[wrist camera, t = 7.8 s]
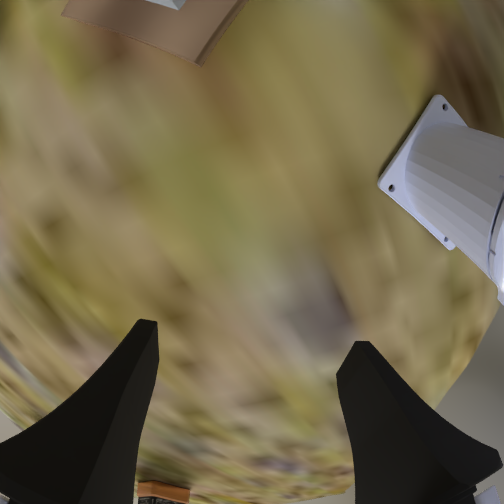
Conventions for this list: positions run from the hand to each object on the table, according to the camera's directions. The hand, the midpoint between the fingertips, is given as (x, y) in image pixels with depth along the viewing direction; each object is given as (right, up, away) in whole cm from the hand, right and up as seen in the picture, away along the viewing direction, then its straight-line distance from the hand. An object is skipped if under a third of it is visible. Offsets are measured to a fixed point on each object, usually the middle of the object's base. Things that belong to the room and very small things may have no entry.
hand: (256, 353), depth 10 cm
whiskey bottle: (-22, -53, +41) cm, 71 cm away
